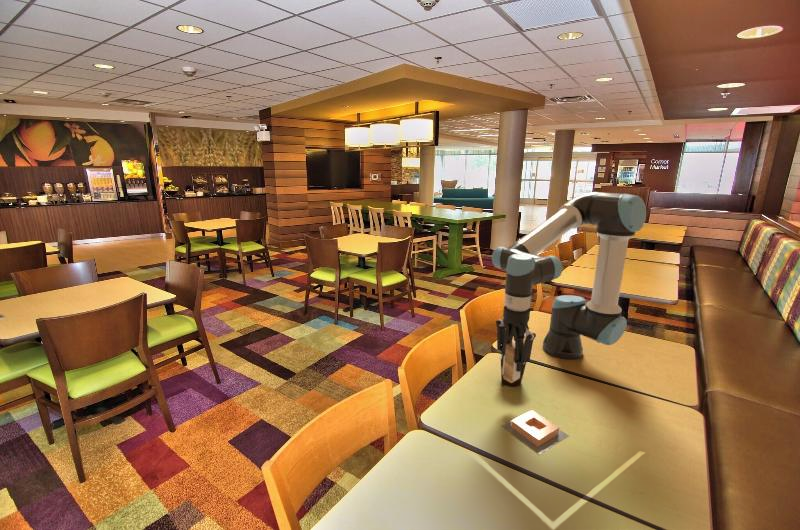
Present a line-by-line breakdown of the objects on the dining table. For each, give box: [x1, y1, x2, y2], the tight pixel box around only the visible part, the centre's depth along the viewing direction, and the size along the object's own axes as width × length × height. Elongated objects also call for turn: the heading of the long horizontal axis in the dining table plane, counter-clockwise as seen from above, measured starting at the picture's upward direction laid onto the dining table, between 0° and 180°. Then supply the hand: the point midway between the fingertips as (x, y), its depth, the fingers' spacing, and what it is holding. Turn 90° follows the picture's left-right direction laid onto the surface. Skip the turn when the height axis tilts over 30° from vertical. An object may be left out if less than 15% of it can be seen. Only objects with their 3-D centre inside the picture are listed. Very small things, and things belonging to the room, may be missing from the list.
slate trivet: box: [501, 410, 570, 456], centre depth 107 cm, size 13×13×1 cm
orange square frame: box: [511, 409, 560, 447], centre depth 106 cm, size 9×9×2 cm
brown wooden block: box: [503, 341, 518, 383], centre depth 116 cm, size 3×3×12 cm
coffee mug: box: [500, 352, 527, 388], centre depth 131 cm, size 12×9×10 cm
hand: (511, 375), depth 117 cm, fingers closed on brown wooden block, 3 cm apart
